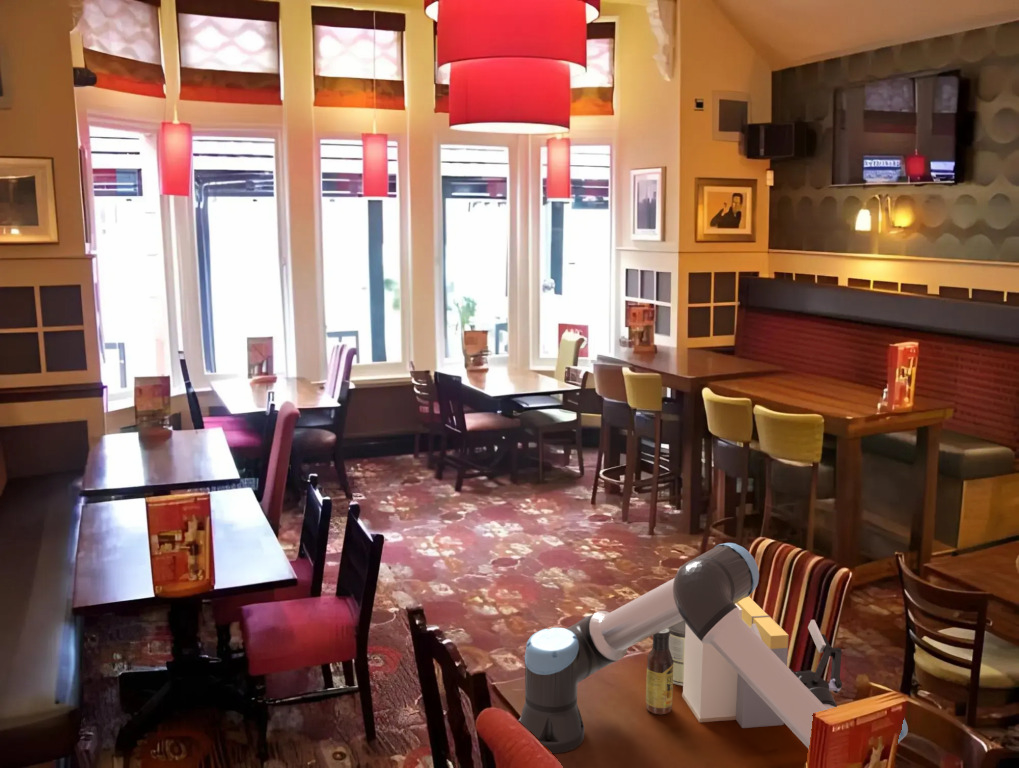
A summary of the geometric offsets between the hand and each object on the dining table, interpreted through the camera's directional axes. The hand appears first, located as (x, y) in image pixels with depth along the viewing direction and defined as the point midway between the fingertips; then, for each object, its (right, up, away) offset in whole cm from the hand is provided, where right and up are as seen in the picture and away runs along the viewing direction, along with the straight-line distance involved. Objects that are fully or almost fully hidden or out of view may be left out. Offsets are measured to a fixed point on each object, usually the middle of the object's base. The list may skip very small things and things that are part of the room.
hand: (781, 625), depth 201 cm
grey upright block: (-2, -25, +16) cm, 30 cm away
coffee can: (-15, -22, +34) cm, 44 cm away
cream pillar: (-12, -25, +19) cm, 33 cm away
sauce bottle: (-24, -25, +18) cm, 39 cm away
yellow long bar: (-2, -3, +13) cm, 13 cm away
